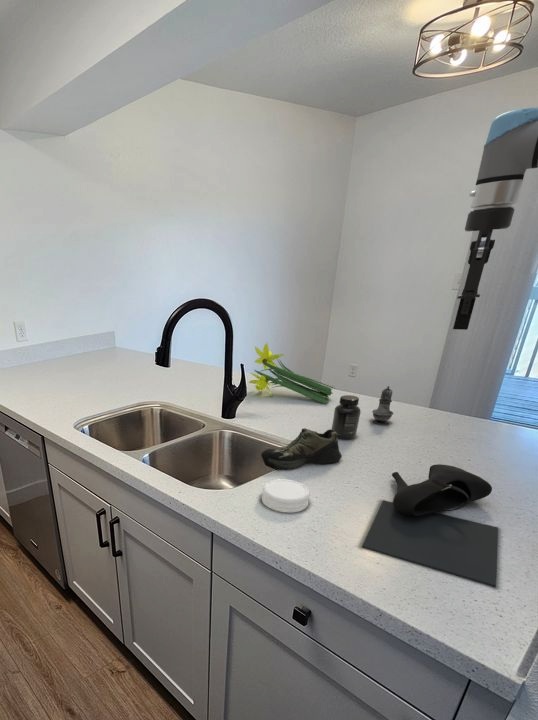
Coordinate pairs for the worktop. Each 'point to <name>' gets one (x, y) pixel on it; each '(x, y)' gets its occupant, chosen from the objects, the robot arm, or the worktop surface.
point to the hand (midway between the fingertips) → (460, 328)
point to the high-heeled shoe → (439, 491)
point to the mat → (436, 542)
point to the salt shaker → (383, 408)
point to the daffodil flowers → (263, 380)
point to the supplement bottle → (346, 417)
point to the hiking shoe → (304, 451)
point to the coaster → (285, 495)
